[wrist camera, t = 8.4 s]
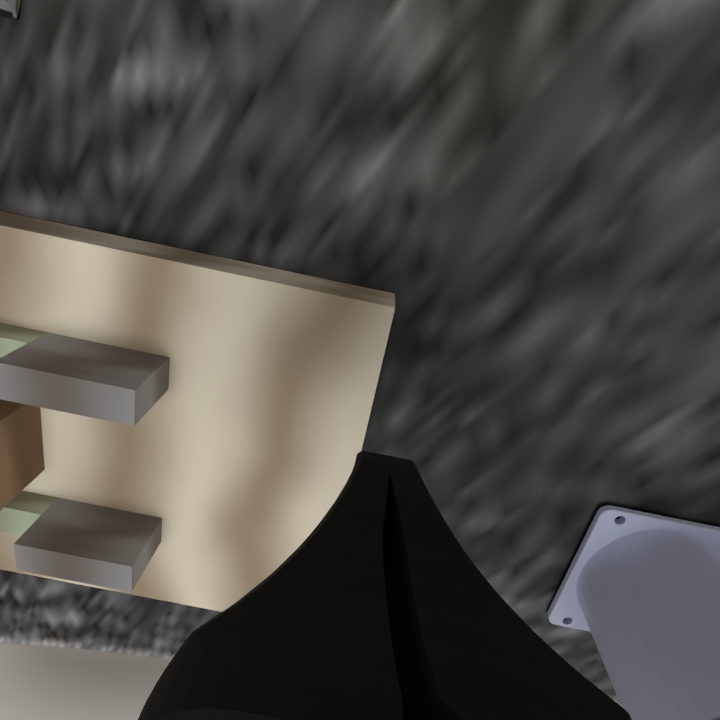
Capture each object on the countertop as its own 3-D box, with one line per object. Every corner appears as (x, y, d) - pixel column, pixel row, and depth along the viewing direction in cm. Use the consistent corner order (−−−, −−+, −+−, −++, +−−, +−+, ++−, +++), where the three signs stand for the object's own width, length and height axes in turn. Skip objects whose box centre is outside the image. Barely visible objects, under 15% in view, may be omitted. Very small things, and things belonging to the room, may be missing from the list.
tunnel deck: (394, 293, 21) (396, 334, 16) (323, 598, 28) (310, 687, 23) (-259, 156, 20) (-451, 159, 15) (-160, 504, 27) (-272, 577, 23)
